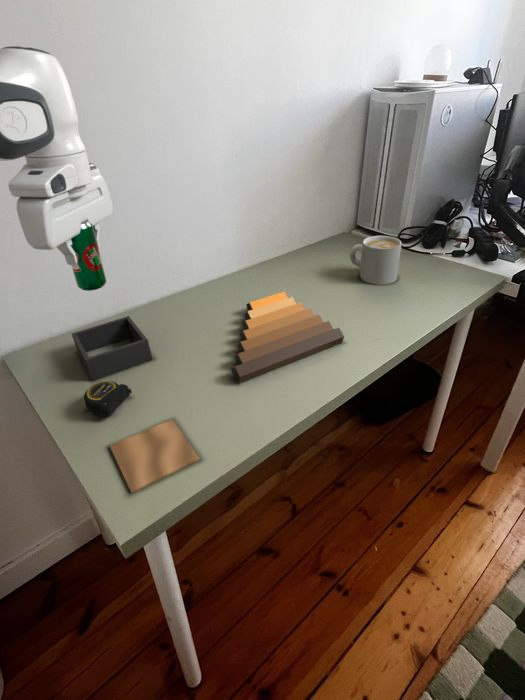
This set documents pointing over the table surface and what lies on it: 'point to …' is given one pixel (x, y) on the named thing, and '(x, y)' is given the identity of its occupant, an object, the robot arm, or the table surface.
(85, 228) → the soda can
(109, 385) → the tape measure
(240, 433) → the table surface
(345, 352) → the table surface
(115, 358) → the black box
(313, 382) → the table surface
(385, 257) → the coffee mug
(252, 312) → the pan flute
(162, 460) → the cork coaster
